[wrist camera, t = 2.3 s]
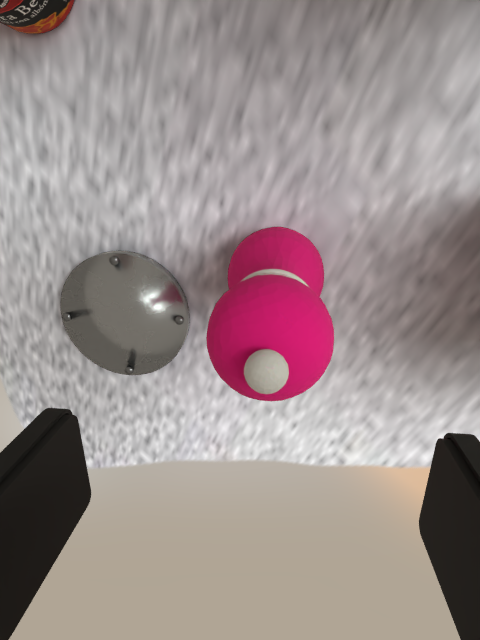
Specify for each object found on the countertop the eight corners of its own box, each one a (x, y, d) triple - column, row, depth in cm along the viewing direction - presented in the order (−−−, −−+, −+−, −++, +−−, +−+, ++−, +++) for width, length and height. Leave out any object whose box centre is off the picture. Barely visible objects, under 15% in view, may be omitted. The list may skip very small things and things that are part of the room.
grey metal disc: (185, 251, 33) (181, 254, 32) (193, 371, 38) (189, 379, 36) (56, 249, 34) (47, 253, 33) (78, 366, 39) (71, 373, 37)
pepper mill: (259, 315, 35) (229, 481, 16) (220, 246, 33) (135, 343, 14) (333, 280, 33) (395, 422, 14) (295, 204, 31) (311, 253, 12)
